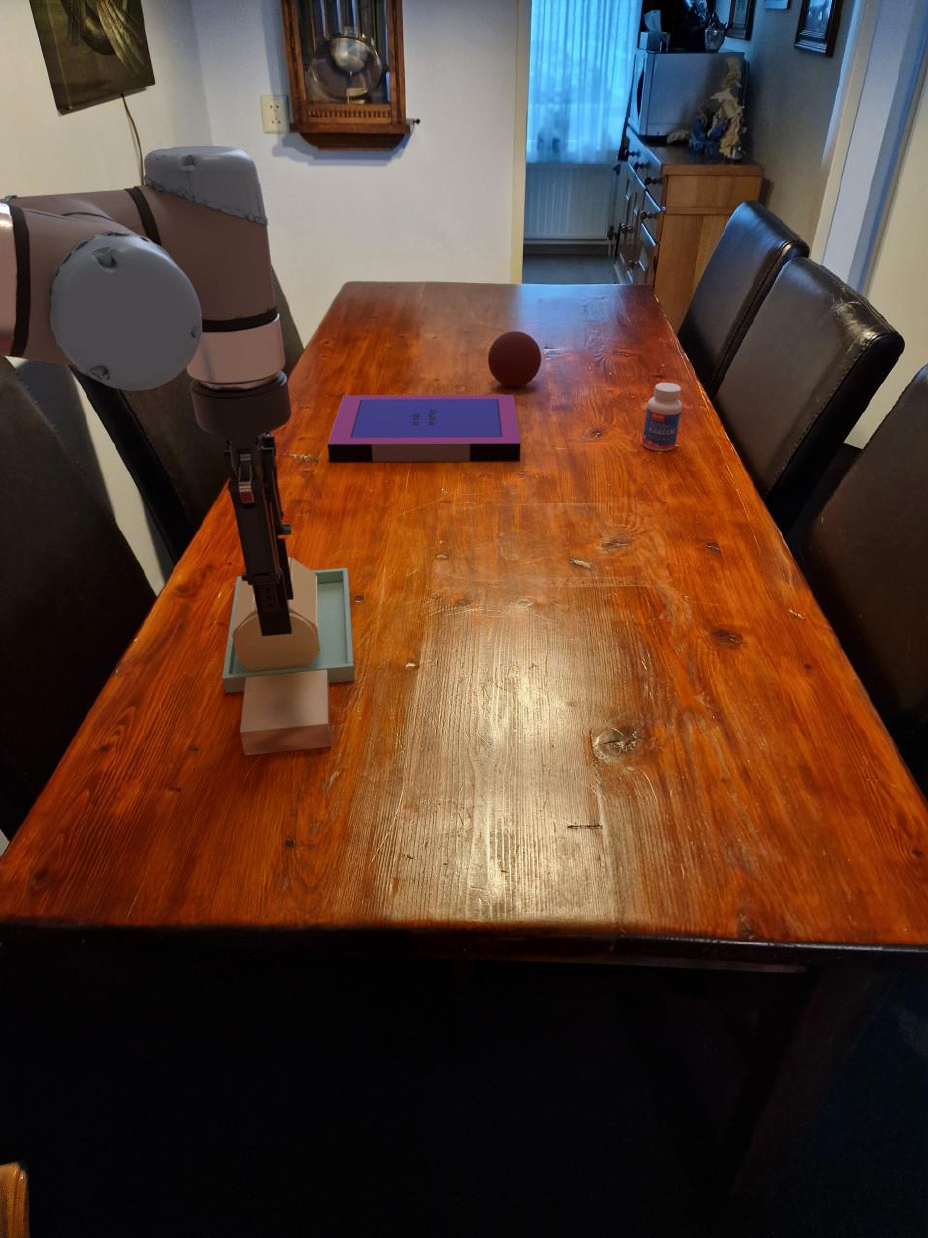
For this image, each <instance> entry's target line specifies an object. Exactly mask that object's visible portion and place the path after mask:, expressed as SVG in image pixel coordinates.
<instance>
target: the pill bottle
mask: <svg viewBox="0 0 928 1238" xmlns="http://www.w3.org/2000/svg"><path fill="white" fill-rule="evenodd" d="M681 391H682V388H681V386H680V385H678V384H676V383H672V382H659V383H657V384H656V385H655V386H654V390H653V397H651V398H649V400H648V402H647V406H646V412H645V418H644V425H643V432H642V440H641V443H642V445H643V447H645V448H646V449H648V450H651V451H655V452H656V451H657V452H666V451H671V450H673V449H674V448H675V446H676V444H677V439H678V433H679V427H680V421H681V416H682V410H683V403H682V401H681V400H680V399H679V398H680V397H681Z"/></svg>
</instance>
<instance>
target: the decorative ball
mask: <svg viewBox="0 0 928 1238" xmlns="http://www.w3.org/2000/svg"><path fill="white" fill-rule="evenodd" d="M487 362H488V368H489V371H490V373H491V375H492V377H493V378H494V379H495V380H496V381H497V382H499V384H501V385H504V386H506V387H510V388H520V387H522V386H526V385H527V384H529V383H531V382H532V381H533V380H534V379H535V377H537V375H538V373H539V371H540V368H541V364H542V353H541V349H540V347H539V344H538V343H537V342H536V340H535V339H534V338H533V337H532V336H531V335H529V334H528V333H526V332H523V331H517V330H513V331H508V332H505V333H502V334H500V336H498V337H497V338H496V339H495V340H494V341H493V343H492V344H491V346H490V348H489V351H488V354H487Z"/></svg>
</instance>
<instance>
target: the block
mask: <svg viewBox="0 0 928 1238" xmlns="http://www.w3.org/2000/svg"><path fill="white" fill-rule="evenodd" d="M331 718H332V717H331V689H330V683H329V681H328V673H327V670H318V671H307V672H297V673H286V674H275V675H265V676H254V677H246V681H245V690H244V691H243V700H242V708H241V719H240V726H239V727H240V728H239V735H240V740H241V745H242V748H243V753H244V756H255V755H264V754H265V755H267V754H275V753H283V752H284V753H285V752H292V751H293V752H295V751H303V750H313V749H321V748H331V747H332V725H331V720H332V719H331Z"/></svg>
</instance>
